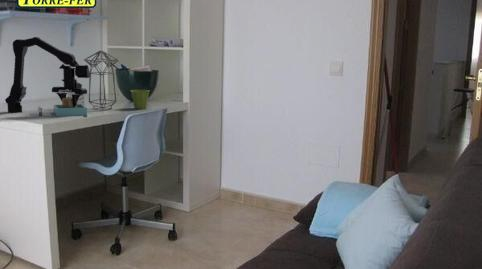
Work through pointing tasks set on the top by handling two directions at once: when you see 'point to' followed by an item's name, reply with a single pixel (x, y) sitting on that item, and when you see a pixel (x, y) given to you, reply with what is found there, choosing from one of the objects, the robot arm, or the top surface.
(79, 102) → the ink cartridge box
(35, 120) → the top surface
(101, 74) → the geometric lantern
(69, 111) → the bin
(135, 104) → the plant pot
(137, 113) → the top surface
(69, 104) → the taped shipping carton
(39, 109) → the stud plate
